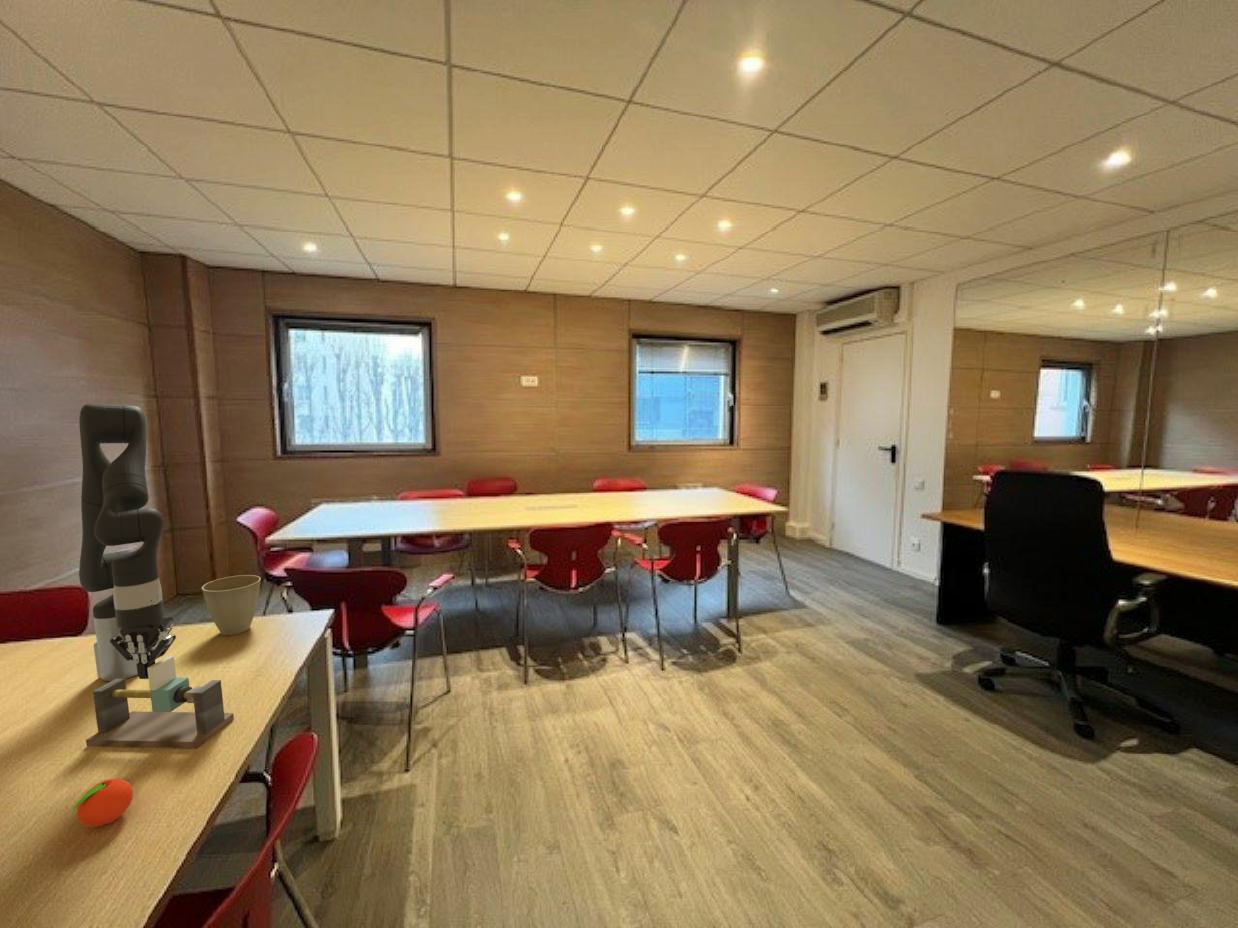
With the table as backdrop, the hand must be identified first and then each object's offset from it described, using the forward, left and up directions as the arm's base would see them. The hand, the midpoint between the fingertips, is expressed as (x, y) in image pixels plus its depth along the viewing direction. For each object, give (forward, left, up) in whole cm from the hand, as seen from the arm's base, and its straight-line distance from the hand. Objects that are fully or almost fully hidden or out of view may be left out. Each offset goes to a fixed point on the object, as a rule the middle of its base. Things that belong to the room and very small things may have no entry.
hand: (147, 676), depth 111 cm
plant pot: (-21, +50, -13) cm, 56 cm away
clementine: (+14, -24, -13) cm, 31 cm away
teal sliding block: (+5, 0, -6) cm, 8 cm away
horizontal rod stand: (+2, 0, -13) cm, 13 cm away
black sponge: (-43, +44, -14) cm, 63 cm away
